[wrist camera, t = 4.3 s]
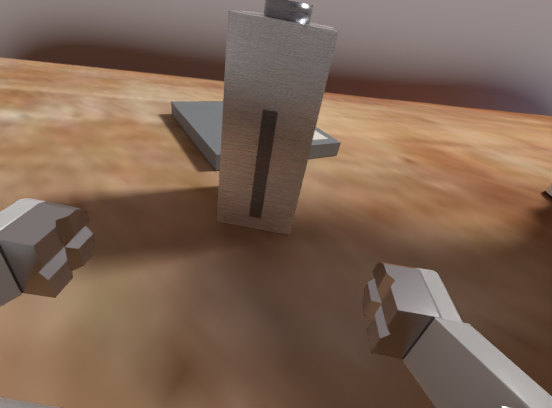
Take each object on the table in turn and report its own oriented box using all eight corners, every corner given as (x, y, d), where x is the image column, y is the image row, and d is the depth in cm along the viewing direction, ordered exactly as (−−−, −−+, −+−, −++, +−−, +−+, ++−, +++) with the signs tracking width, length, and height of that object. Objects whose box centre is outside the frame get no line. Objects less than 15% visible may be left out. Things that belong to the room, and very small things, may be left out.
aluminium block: (292, 195, 24) (334, 10, 17) (289, 235, 20) (343, 10, 13) (232, 184, 24) (249, -6, 17) (216, 222, 20) (229, -12, 13)
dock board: (273, 111, 42) (274, 100, 41) (336, 155, 32) (340, 141, 31) (171, 114, 35) (171, 100, 34) (215, 170, 25) (216, 153, 24)
